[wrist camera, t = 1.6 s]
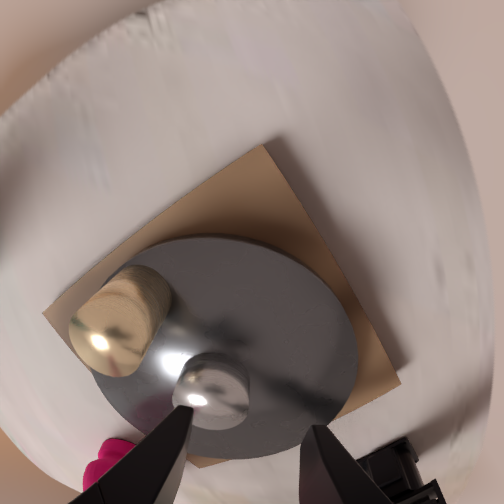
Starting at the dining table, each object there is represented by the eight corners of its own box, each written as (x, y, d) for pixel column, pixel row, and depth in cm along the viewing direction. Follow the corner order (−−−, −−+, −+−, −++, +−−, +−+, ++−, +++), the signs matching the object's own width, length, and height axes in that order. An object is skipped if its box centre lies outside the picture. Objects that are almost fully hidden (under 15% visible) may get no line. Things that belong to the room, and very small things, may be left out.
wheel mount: (395, 372, 22) (401, 383, 21) (201, 457, 26) (199, 468, 24) (261, 144, 18) (261, 143, 16) (52, 304, 21) (42, 313, 20)
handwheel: (387, 385, 20) (418, 451, 14) (199, 463, 24) (189, 522, 17) (256, 169, 16) (254, 176, 10) (53, 319, 20) (2, 369, 13)
